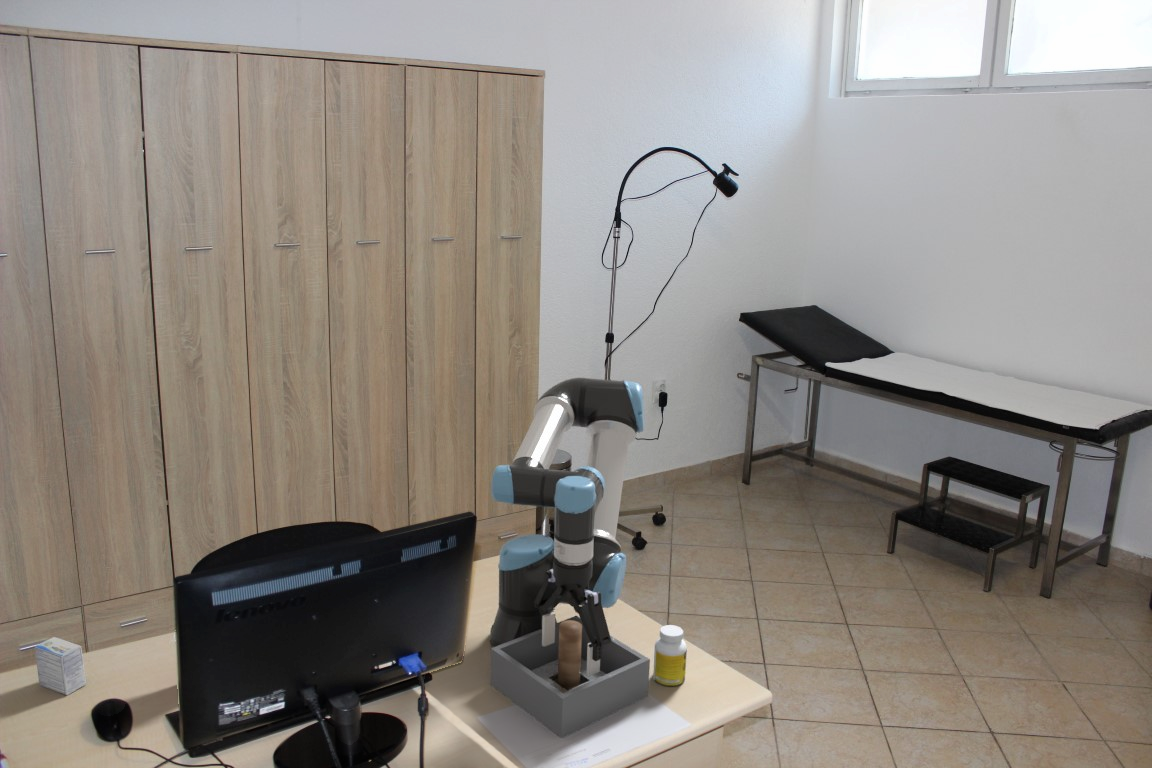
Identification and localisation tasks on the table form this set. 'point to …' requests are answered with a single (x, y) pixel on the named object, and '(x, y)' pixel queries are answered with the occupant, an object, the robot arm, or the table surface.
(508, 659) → the open box
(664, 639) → the pill bottle
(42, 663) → the medicine box
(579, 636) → the walnut peg
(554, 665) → the bore plate
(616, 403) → the robot arm
